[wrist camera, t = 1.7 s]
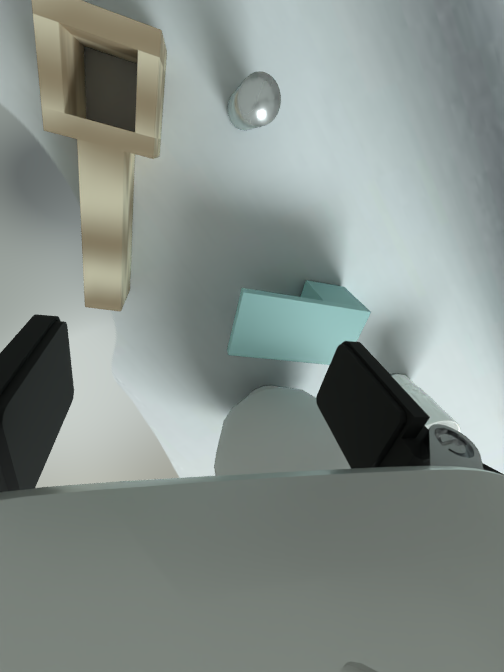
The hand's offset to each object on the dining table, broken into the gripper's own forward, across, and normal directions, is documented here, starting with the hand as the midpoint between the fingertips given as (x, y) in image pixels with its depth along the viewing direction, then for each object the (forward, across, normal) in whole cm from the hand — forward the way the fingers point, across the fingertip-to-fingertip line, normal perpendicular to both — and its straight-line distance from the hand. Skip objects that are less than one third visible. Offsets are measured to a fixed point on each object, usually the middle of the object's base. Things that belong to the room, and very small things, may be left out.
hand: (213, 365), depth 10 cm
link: (+23, +7, -2) cm, 24 cm away
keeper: (+22, -12, +7) cm, 26 cm away
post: (+22, -3, -10) cm, 25 cm away
